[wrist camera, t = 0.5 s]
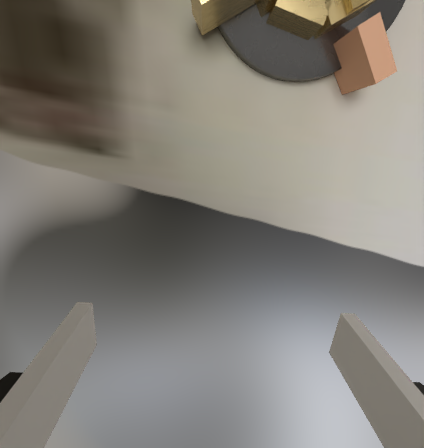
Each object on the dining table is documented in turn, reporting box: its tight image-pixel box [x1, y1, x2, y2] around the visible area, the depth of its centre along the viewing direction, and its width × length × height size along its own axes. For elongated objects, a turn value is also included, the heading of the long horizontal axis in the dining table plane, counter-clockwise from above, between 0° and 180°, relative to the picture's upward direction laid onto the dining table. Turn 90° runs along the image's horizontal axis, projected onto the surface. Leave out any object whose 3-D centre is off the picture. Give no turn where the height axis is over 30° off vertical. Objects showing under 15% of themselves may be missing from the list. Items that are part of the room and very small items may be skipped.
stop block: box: [334, 12, 397, 95], centre depth 29 cm, size 6×2×7 cm, turn 30°
